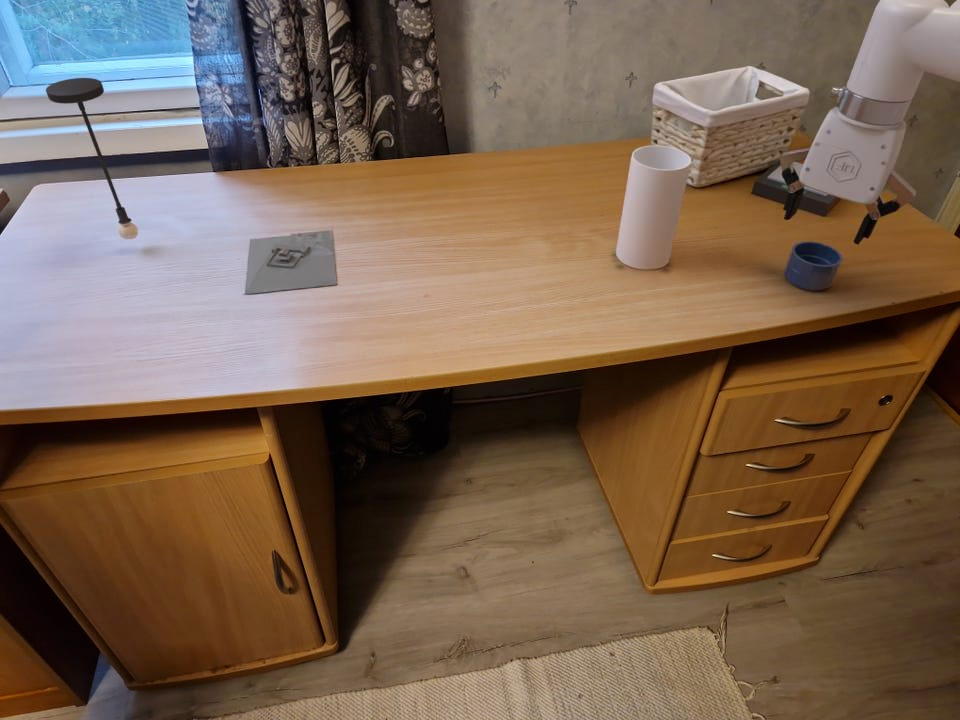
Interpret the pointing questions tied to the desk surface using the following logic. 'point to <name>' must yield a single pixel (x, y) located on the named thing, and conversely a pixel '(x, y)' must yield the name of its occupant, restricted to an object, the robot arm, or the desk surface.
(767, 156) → the basket
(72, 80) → the light fixture
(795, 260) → the bowl
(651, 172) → the cup
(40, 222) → the desk surface
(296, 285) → the grey faceted rectangular plate
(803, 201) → the scale
